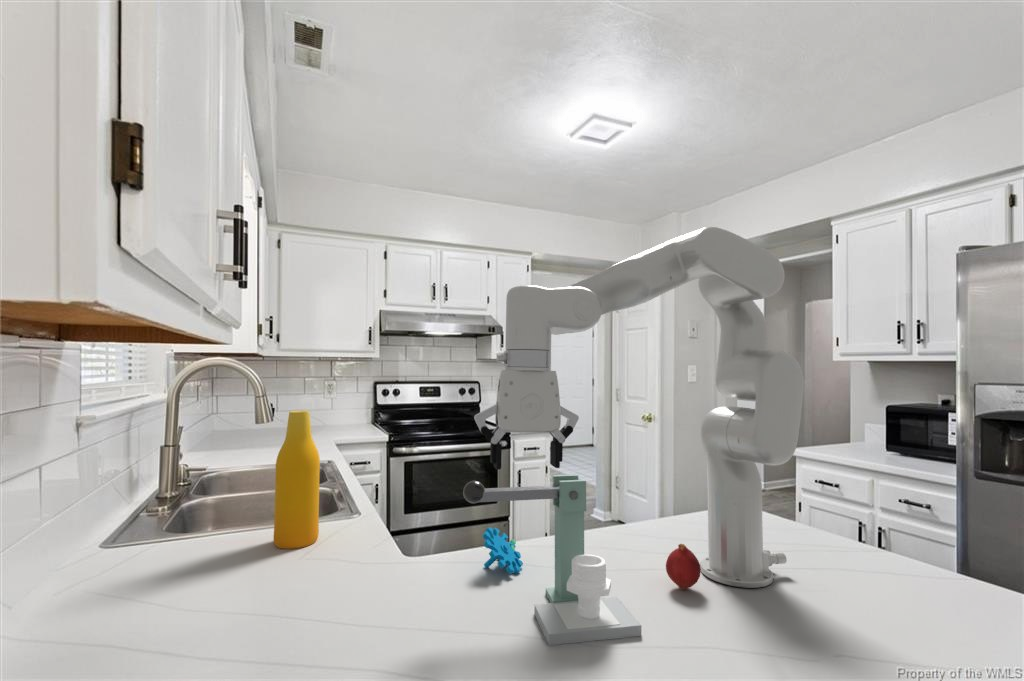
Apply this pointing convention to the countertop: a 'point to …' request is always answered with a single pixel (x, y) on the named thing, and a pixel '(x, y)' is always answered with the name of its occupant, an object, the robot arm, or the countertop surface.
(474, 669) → the countertop surface
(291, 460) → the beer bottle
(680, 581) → the onion
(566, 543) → the press
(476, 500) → the lever
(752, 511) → the robot arm
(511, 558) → the gear
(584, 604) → the pipe fitting
